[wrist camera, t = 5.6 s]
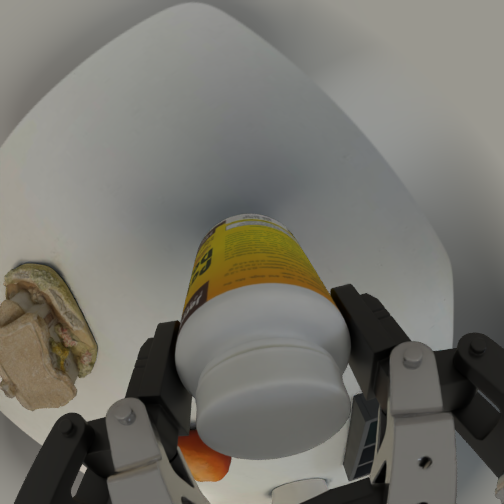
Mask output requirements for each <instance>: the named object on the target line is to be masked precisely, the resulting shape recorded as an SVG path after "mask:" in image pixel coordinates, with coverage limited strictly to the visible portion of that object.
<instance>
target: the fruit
mask: <svg viewBox="0 0 504 504" xmlns="http://www.w3.org/2000/svg"><path fill="white" fill-rule="evenodd" d="M177 445H178V446H179V448H180V449H181V452H182V454H183V456H184V458H185V460H186V463H187V465H188V467H189V469H190V471H191V473H192V475H193V477H194V479H195V480H196V481H200V482H203V481H213V482H216V481H219V480H221V479H222V478H223V477H224V476H225V475H226V474H227V472H228V470H229V466H230V463H231V456H227V455H224V454H222V453H219V452H217V451H215V450H213V449H211V448H210V447H209V446H207V445H206V444H205V443H204V442H203V441H202V440H201V438H200V436H199V434H198V432H197V429H196V430H189V436H178V444H177Z"/></svg>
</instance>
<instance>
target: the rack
mask: <svg viewBox="0 0 504 504" xmlns="http://www.w3.org/2000/svg"><path fill="white" fill-rule="evenodd" d="M379 405H380V404H379V402H378V400H377V398H374V399H371V400H368V401H366V399H365V397H364V394H363V393H362V394H359V395H356V396H354V399H353V407H352V415H351V422H350V429H349V435H348V441H347V447H346V452H345V458H344V463H343V465H344V468H345V471H346V474H347V477H348V480H349V481H352V480H355V479H358V478H361V477H364V476H366V475H369V474H370V473H371V469H372V465H373V461H374V455H375V446H376V435H377V422H378V409H379Z"/></svg>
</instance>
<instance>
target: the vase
mask: <svg viewBox="0 0 504 504" xmlns="http://www.w3.org/2000/svg"><path fill="white" fill-rule="evenodd" d="M328 490H329V489H328V487H327V485H326V483H325V480H323V479H308V480H301V481H296V482H292V483H288V484H285V485H282V486H279V487H277V488H276V489H274V490H273V491H272V504H300V503H302V502H304V501H306V500H309V499H311V498H313V497H315V496H317V495H319V494H321V493H324V492H326V491H328Z"/></svg>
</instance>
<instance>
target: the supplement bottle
mask: <svg viewBox="0 0 504 504" xmlns="http://www.w3.org/2000/svg"><path fill="white" fill-rule="evenodd" d="M350 353H351V338H350V333H349V330H348V327H347V325H346V322H345V320H344V318H343V316H342V314H341V313H340V311H339V309H338V308H337V306H336V304H335V302H334V301H333V299H332V297H331V296H330V294H329V292H328V291H327V289H326V287H325V286H324V284H323V282H322V281H321V279H320V278H319V276H318V274H317V273H316V271H315V269H314V268H313V266H312V264H311V263H310V261H309V260H308V258H307V257H306V255H305V253H304V252H303V250H302V249H301V247H300V245H299V244H298V242H297V240H296V239H295V237H294V236H293V235H292V233H291V232H290V231H289V230H288V229H287V228H286V227H285V226H284V225H283V224H281V223H280V222H278V221H276V220H274V219H272V218H270V217H267V216H264V215H259V214H241V215H236V216H233V217H230V218H227V219H225V220H223V221H221V222H220V223H218V224H217V225H215V226H214V227H213V228H212V229H211V230H210V231H209V232H208V233H207V234H206V236H205V237H204V239H203V240H202V242H201V244H200V246H199V249H198V252H197V255H196V259H195V263H194V267H193V271H192V275H191V279H190V283H189V288H188V292H187V296H186V300H185V305H184V309H183V314H182V319H181V323H180V328H179V333H178V336H177V342H176V351H175V363H176V369H177V373H178V375H179V378H180V380H181V382H182V384H183V385H184V387H185V388H186V390H187V391H188V392H189V393H190V394H191V395H192V396H193V397H194V398H195V400H196V405H197V415H196V428H197V432H198V434H199V436H200V438H201V440H202V441H203V442H204V443H205V444H206V445H207V446H209V447H210V448H211V449H213V450H215V451H217V452H219V453H222V454H224V455H227V456H231V457H235V458H241V459H250V460H266V459H277V458H282V457H287V456H292V455H295V454H299V453H302V452H305V451H307V450H310V449H312V448H314V447H316V446H318V445H320V444H322V443H324V442H325V441H327V440H328V439H330V438H331V437H332V436H333V435H335V434H336V433H337V432H338V431H339V430H340V429H341V428H342V427H343V426H344V424H345V423H346V421H347V419H348V418H349V415H350V412H351V402H350V398H349V395H348V393H347V390H346V388H345V386H344V383H343V379H342V375H343V373H344V371H345V370H346V367H347V365H348V362H349V358H350Z"/></svg>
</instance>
